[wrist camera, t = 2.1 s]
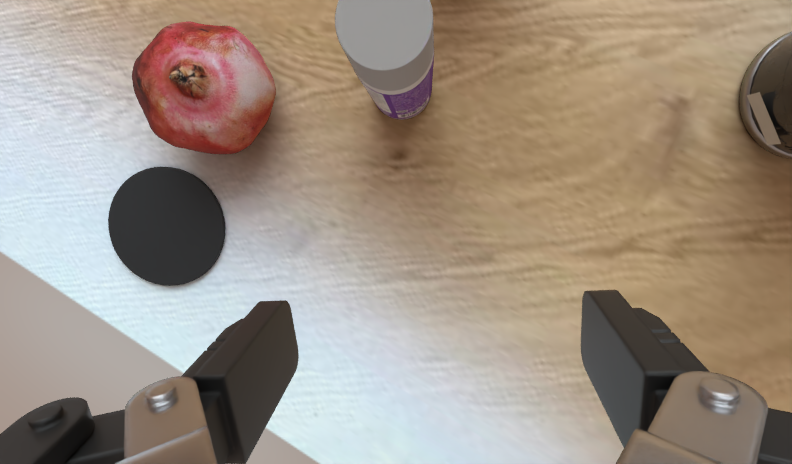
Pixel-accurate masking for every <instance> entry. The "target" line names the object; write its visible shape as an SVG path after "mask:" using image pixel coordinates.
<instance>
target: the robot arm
mask: <svg viewBox="0 0 792 464" xmlns="http://www.w3.org/2000/svg"><path fill="white" fill-rule="evenodd" d="M740 111H741V116H742V119H743V122H744V125H745V127H746V129H747V131H748V132H749V134H750V135H751V137H752V138H753V139H754V140H755V141H756V142H757V143H758V144H759V145H760V146H762V147H763V148H764V149H766V150H768V151H769V152H771V153H773V154H776V155H778V156H781V157H785V158H791V159H792V32H790V33H787V34H785V35H783V36H781V37H779V38H777V39H776V40H774V41H773V42H771V43H770V44H768V45H767V46H766V47H765V48H764V49H763V50H762V51H761V52H760V53H759V54H758V55H757V56H756V57H755V59H754V60H753V61H752V63H751V64H750V66H749V68H748V70H747V72H746V74H745V76H744V79H743V82H742V86H741V90H740ZM581 354H582V360H583V364H584V367H585V370H586V372H587V374H588V376H589V378H590V380H591V382H592V384H593V386H594V388H595V390H596V392H597V394H598V396H599V398H600V400H601V402H602V404H603V406H604V408H605V410H606V412H607V414H608V416H609V418H610V421H611V423H612V425H613V427H614V429H615V431H616V433H617V435H618V437H619V439H620V441H621V443H622V445H623V447H624V450H623V451H622V453H621V455H620V457H619V459H618V460H617V462H616V464H792V413H790V412H785V411H780V410H775V409H771V408H768V405H767V403H766V401H765V399H764V398H763V397H762V396H761V395H760V394H759V393H758V392H757V391H756V390H754V389H753V388H752V387H750V386H748V385H747V384H745V383H743V382H741V381H739V380H736V379H734V378H731V377H728V376H725V375H721V374H718V373H712V372H709V371H708V370H707V368H706V367H705V366H704V365H703V364H702V363H701V362H700V361H699V360H698V359H697V358H696V357H695V356H694V354H693V353H692V352H691V351H690V350H689V349H688V348H687V347H686V346H685V345H684V344H683V343H681V342H680V339H679V338H678V337H677V336H676V335H675V334H674V333H671V330H670V329H669V328H668V327H667V325H666V324H665V323H664V322H663V321H662V320H661V319H660V318H659V317H657V316H655V315H653V314H651V313H649V312H647V311H646V310H644V309H642V308H632V307H631V306H630V305H629V303H628V302H627V301H626V300H625V299H624V298H623V296H622V295H621V294H620V293H619V292H618V291H617V290H598V291H585V292H584V294H583V300H582V326H581ZM297 365H298V346H297V341H296V335H295V330H294V324H293V318H292V313H291V308H290V305H289V303H288V302H287V301H260V302H259V303H258V304H257V305H256V306H255V307H254V308H253V309H252V310H251V311H250V313H249V314H248V315H247V316H246V317H245V318H244V319H241V320H239V321H237V322H236V323H234V324H232V325H231V326H229V327H227V328H226V329H225V330H224V331H223V332H222V333H221V334H220V335H219V336H218V337H217V339H216V342H213V343H212V344H211V345H210V346H209V347H208V348H207V351H204V352H203V354H202V355H201V356H200V357H199V358H198V359H197V360H196V361H195V362H194V363H193V364H192V365H191V366H190V367H189V369H188V370H187V371H186V372H185V373H184V374H183V375H182V376H181V377H171V378H167V379H163V380H160V381H157V382H155V383H153V384H150V385H148V386H147V387H145V388H143V389H142V390H140V391H139V392H137V393H136V394H135V395H134V396H133V397H132V398H131V399H130V400H129V401H128V403H127V404H126V406H125V410H120V411H116V412H111V413H106V414H102V415H97V416H92V415H91V412H90V409H89V407H88V404H87V401H85V400H84V399H82V398H66V399H61V400H57V401H54V402H51V403H48V404H45V405H43V406H41V407H39V408H36V409H34V410H33V411H31V412H29V413H27V414H26V415H24V416H23V417H21V418H20V419H19V420H17V421H16V422H15V423H13V424H12V425H11V426H10V427H8V428H7V429H6V430H5V431H4V432H2V433H1V434H0V464H228V463H229V464H246V462H247V460H248V458H249V456H250V454H251V452H252V451H253V449H254V447H255V445H256V444H257V441H258V440H259V438H260V436H261V434H262V432H263V430H264V429H265V427H266V425H267V423H268V421H269V420H270V418H271V416H272V414H273V412H274V410H275V408H276V407H277V405H278V403H279V401H280V399H281V397H282V396H283V394H284V392H285V390H286V388H287V386H288V384H289V383H290V381H291V379H292V377H293V375H294V373H295V371H296V369H297Z"/></svg>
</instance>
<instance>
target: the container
mask: <svg viewBox="0 0 792 464" xmlns="http://www.w3.org/2000/svg"><path fill="white" fill-rule="evenodd" d="M335 27H336V33H337V37H338V39H339V42H340V44H341V46H342V48H343V50H344V52H345V54H346V56H347V57H348V59H349V61H350V63H351V65H352V67H353V69H354V71H355V73H356V75H357V76H358V78H359V79H360V81H361V82H362V84H363V85H364V87H365V88H366V90H367V91H368V93H369V94H370V96H371V98H372V99H373V101H374V102H375V104H376V105H377V107H378V108H379V109H380V110H381V111H382V112H383V113H384V114H385V115H387V116H389V117H391V118H394V119H400V120H403V119H409V118H412V117H414V116H416V115H418V114H419V113H420V112H422V111H423V109H424V108H425V107H426V105H427V104H428V102H429V99H430V96H431V90H432V76H433V62H434V35H433V11H432V6H431V2H430V0H339V1H338V4H337V8H336V13H335Z"/></svg>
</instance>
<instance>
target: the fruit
mask: <svg viewBox="0 0 792 464" xmlns="http://www.w3.org/2000/svg"><path fill="white" fill-rule="evenodd" d="M132 80H133V87H134V91H135V94H136V97H137V99H138V101H139V104H140V105H141V107H142V109H143V112H144V114H145V116H146V118H147V120H148V123H149V125H150V127H151V129H152V131H153V132H154V133H155V134H156V135H157V136H158V137H159V138H161V139H163V140H164V141H166V142H167V143H169V144H171V145H173V146H175V147H179V148H185V149H190V150H194V151H199V152H204V153H210V154H233V153H237V152H239V151H241V150H243V149H245V148H246V147H248V146H249V145H251V144H252V142H253V141H254V139H255V138H256V137H257V135H258V134H259V132H260V131H261V129H262V128H263V127H264V125H265V124H266V123H267V121H268V119H269V116H270V113H271V109H272V106H273V102H274V98H275V95H276V89H275V84H274V80H273V77H272V75H271V73H270V71H269V69H268V68H267V66H266V64H265V62H264V60H263V58H262V56H261V54H260V53H259V51H258V50H257V49H256V48H255V47H254V45H253V44H252V43H251V42H250V41H249V40H248V39H247V38H246V37H245V36H244V35H243V34H242V33H241V32H239V31H238V30H237V29H235V28H233V27H230V26H214V25H204V24H199V23H194V22H181V23H175V24H171V25H169V26H167V27H165V28H163V29H162V30H161V31H160V32H159V33H158V34H157V35H156V37H155V38H154V39H153V41H152V42H151V43H150V44H149V45H148V46H147V47H146V49H145V50H144V51H143V52H142V53H141V55H140V56H139V57H138V58H137V59H136V61H135V63H134V67H133V72H132Z"/></svg>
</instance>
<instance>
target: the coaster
mask: <svg viewBox="0 0 792 464" xmlns="http://www.w3.org/2000/svg"><path fill="white" fill-rule="evenodd" d="M108 222H109V233H110V238H111V241H112V244H113V247H114V249H115V251H116V253H117V255H118V256H119V258H120V259H121V260H122V262H123V263H124V264H125V265H126V266H127V267H128V268H129V269H130V270H131V271H132V272H133V273H134V274H136V275H138V276H139V277H141V278H143V279H145V280H147V281H149V282H152V283H155V284H160V285H169V286H170V285H180V284H185V283H188V282H190V281H193V280H195V279H197V278H199V277H200V276H202V275H203V274H205V273H206V272H207V271H208V270H209V269H210V268H211V267H212V266H213V264H214V263H215V262H216V260H217V258H218V257H219V255H220V252H221V250H222V247H223V243H224V238H225V222H224V216H223V212H222V209H221V207H220V204H219V202H218V200H217V198H216V196H215V195H214V194H213V192H212V191H211V190H210V188H209V187H208V186H207V185H206V184H205V183H204V182H202V181H201V180H200V179H199V178H197V177H196V176H194V175H192V174H190V173H188V172H186V171H184V170H181V169H177V168H172V167H154V168H149V169H146V170H143V171H140V172H138V173H136V174H135V175H133V176H132V177H130V178H129V179H128V180H126V181H125V182H124V183H123V184H122V186H121V187H120V188H119V190H118V191H117V193H116V194H115V196H114V198H113V201H112V203H111V207H110V211H109V219H108Z"/></svg>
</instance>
